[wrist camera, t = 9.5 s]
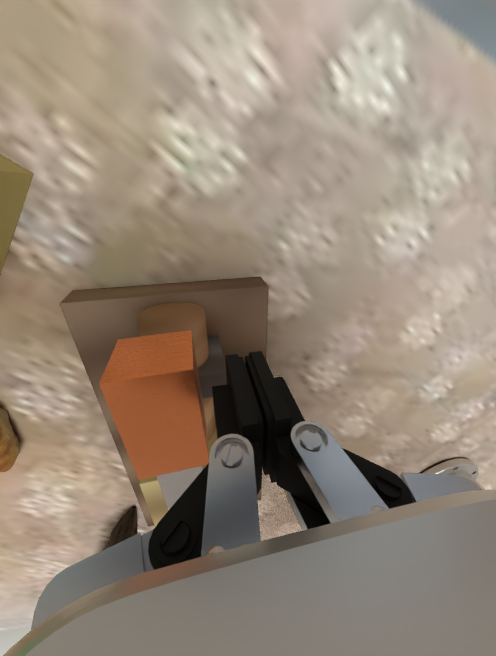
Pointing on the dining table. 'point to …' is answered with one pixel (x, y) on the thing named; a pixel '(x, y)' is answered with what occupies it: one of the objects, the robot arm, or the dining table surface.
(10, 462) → the pastry
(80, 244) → the dining table surface
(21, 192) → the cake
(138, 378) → the valve lever
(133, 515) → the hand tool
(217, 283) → the pipe board
